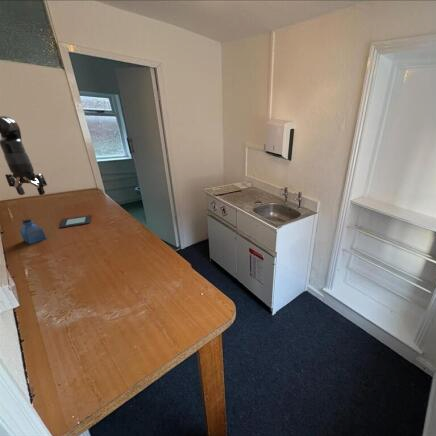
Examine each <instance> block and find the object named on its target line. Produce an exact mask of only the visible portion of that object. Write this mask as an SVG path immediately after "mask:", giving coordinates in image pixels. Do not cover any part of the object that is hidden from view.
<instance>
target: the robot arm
mask: <svg viewBox="0 0 436 436" xmlns="http://www.w3.org/2000/svg"><path fill="white" fill-rule="evenodd" d="M0 137H1V139H0V149H1V151H2V153H3V157H4V160H5V161H6V164H7V166H8V169H9V171H10V173H7V174H5V176H4V177H5V179H6V181H7V184H8V186H9V187H13V188H15V190H16V192H17V194H18V195H19V196H23V195H25V194H26V193H25V190H24V187H23V184H30V185H32V186H34V187H35V188H36V190H37V192H38V195H39V196H43V195H45V194H46V191H45V189H44V187H46V186H48V184H47V181H46V179H45V176H44V175H43V174H42V173H38V174H35V172H34V167H33V165H32V164H33V163H32V162H31V159H30V157H29V155H28V153H27V151H26V148H25V147H24V144H23V142H22V140H23V139H22V133H21V128H20V125H19V124H18V122H17V120H14V118H12V117H9V116H6V115H0Z"/></svg>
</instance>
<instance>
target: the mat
mask: <svg viewBox="0 0 436 436" xmlns="http://www.w3.org/2000/svg"><path fill="white" fill-rule="evenodd" d="M91 218H92V216H91V215H84V216H75V217H70V218H63V219H62V220H61V223H60V225H59V229H64V228H70V227H77V226H84V225H89V224H90V222H91Z"/></svg>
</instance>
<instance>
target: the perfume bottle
mask: <svg viewBox="0 0 436 436" xmlns="http://www.w3.org/2000/svg"><path fill="white" fill-rule="evenodd" d="M21 224H22V225H21V226H20V229H19V233H20V235H21V238H22V239H23V241H24V242H26V243H27V244H29V245H32V244H35V243H37V242H41V241H45V240H47V237H46V234H45V232H44V229H43V228H42V227H40V226H38V225H37V224H35V223H34V221H33V220H32V218H31V217H26V218H23V219H21Z"/></svg>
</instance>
